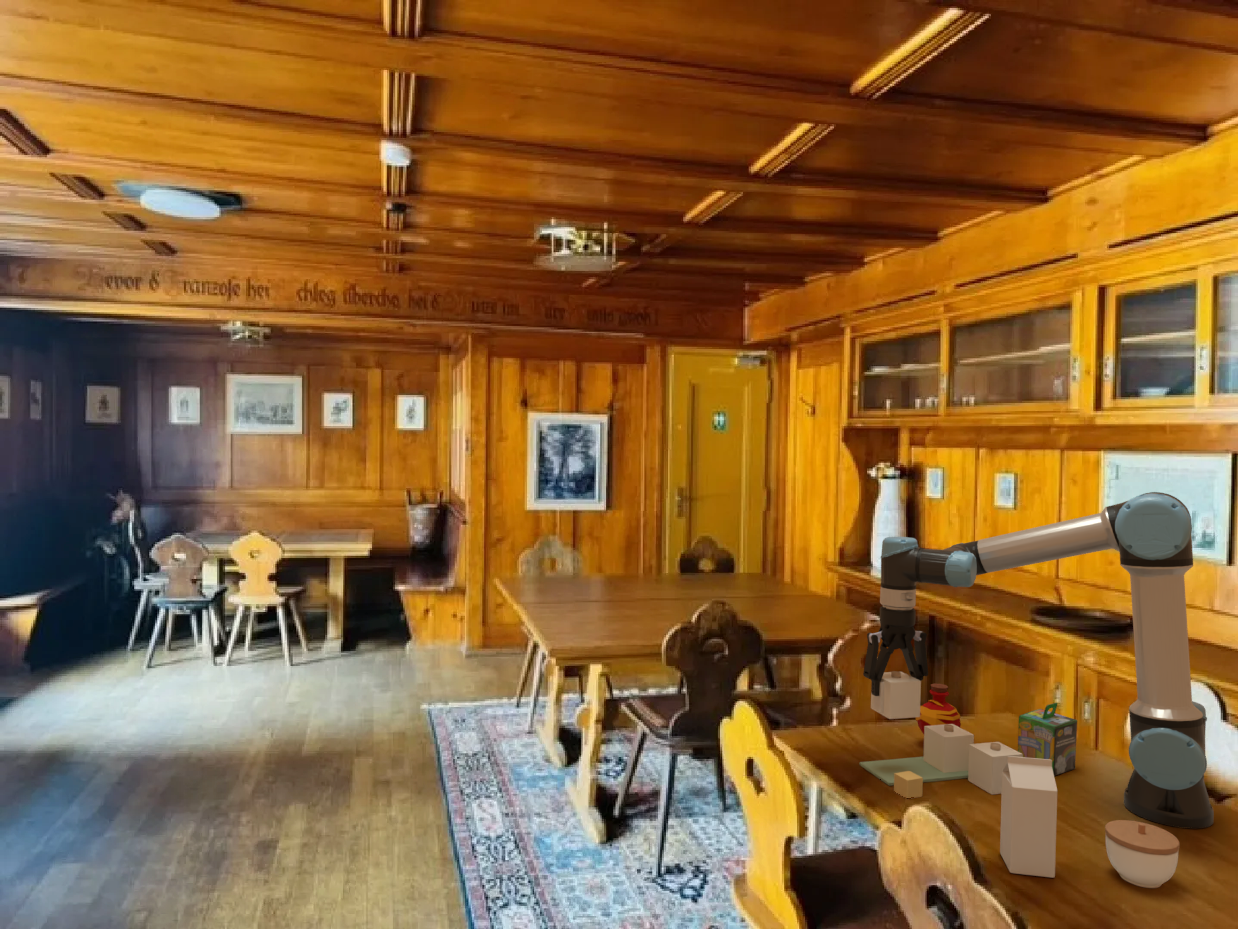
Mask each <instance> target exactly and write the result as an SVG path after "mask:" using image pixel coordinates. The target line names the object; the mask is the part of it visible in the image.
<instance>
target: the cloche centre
mask: <svg viewBox="0 0 1238 929" xmlns="http://www.w3.org/2000/svg"><path fill="white" fill-rule="evenodd" d="M960 727H961V726H960ZM960 727H958V726H956V725H954V724H944V725H932V726H924V734H923V757H924V761H925V762H927V763H928V764H930V765H932V766H933V767H935V768H937V769H938V770H940V771H942V772H943V773H949V772H959V771H968V768H969V744H975V735H974V734H973V733H971V732H969V731H968V730H966V729H963V728H962V727H961V728H960Z"/></svg>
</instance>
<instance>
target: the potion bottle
mask: <svg viewBox="0 0 1238 929" xmlns="http://www.w3.org/2000/svg"><path fill="white" fill-rule="evenodd" d="M930 688H931V689H930V690H929V694H930V695H931V696H932V699H928V700H927V702H925V703H923V704H922V705H920V717H915V721H916V722H917V726H918V727H919V730H920V731H921V733H922V735H924V726H932V725H944V724H954V725H956V726H958V727H960V728H962V727H961V726H962V724H961V714H960V713H959V712H958V710H957V708H956V707H955V706H953V705H952V704H950V703H949V702H948V701H946V697H949V695H950V693H949V691H948V689H949V686H948V685H947V684H943V683H932V684H930Z"/></svg>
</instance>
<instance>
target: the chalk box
mask: <svg viewBox="0 0 1238 929" xmlns="http://www.w3.org/2000/svg"><path fill="white" fill-rule="evenodd" d="M1057 707H1058V702H1054V703H1053V702H1052V703H1050V704H1047V705H1046V706H1045V708H1044V709H1042V708H1038V709H1035V710H1031V711H1028V712H1025V713H1023V714H1019V716H1018V731H1017V732H1018V733H1017V751H1018V752H1020V753H1022V754H1023V757H1026V758H1037V759H1049V760H1052V769H1053V774H1054V777H1055V776H1058V775H1061V774H1064V773H1068V772H1070V771H1073V770H1075V769H1076V756H1077V755H1076V754H1077V734H1078V733H1077V732H1078V731H1077V730H1078V719H1075V718H1073V717H1072V718H1071V717H1069V716H1065V715H1062V714H1058V713H1056V710H1057ZM1051 709H1052V710H1051ZM1050 710H1051V711H1050Z"/></svg>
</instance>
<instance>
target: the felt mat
mask: <svg viewBox="0 0 1238 929" xmlns="http://www.w3.org/2000/svg"><path fill="white" fill-rule="evenodd" d="M859 766H860V767H862V768H864V770H866V771H867V772H868V773H870V774H872V775H873V776H874V777H876V778H877V779H878V780H880V779H881V780H880V781H881V782H883V783H884V784H886V785H888V787H889V786H894V773H899V772H905V771H911V772H913V773H915V774H916V775H918V776H920V777H922V778H923V783H930V782H931V783H933V782H941V781H951V780H961V779H968V771H959V772H949V773H943V772H942V771H940V770H938V769H937V768H935V767H933V766H932V765H930V764H928V763H927V762H925V761H924V756H915V757H904V758H893V759H881V760H871V761H869V760H867V761H860V762H859Z"/></svg>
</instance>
